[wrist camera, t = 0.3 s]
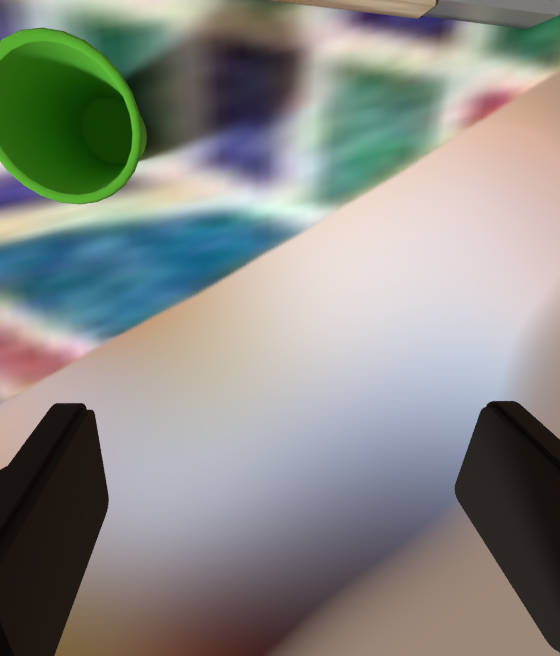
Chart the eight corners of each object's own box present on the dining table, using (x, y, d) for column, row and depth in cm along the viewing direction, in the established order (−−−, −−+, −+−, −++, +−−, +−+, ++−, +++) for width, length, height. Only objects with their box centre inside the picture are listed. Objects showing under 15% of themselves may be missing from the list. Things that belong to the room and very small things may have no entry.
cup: (187, 106, 32) (163, 85, 22) (149, 207, 35) (113, 229, 25) (76, 43, 29) (-8, -14, 19) (45, 157, 32) (-41, 159, 22)
